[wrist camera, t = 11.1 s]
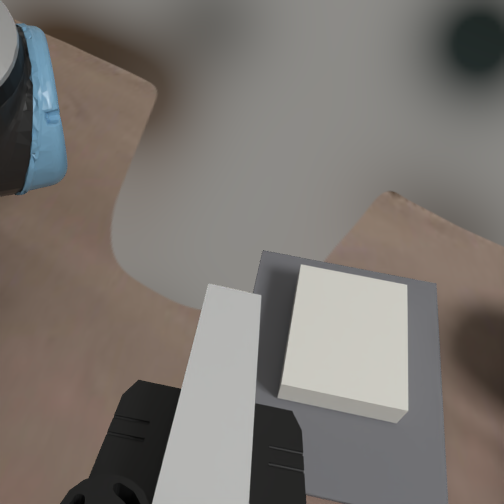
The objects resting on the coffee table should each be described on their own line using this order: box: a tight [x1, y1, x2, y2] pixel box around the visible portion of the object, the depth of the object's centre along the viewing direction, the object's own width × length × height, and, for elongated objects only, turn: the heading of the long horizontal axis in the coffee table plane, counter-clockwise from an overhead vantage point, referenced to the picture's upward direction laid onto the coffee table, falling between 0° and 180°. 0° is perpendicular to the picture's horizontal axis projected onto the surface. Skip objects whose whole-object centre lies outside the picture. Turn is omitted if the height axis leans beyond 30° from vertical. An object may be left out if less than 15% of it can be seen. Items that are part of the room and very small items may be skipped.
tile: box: [277, 264, 408, 423], centre depth 42 cm, size 3×10×12 cm
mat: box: [253, 250, 448, 504], centre depth 43 cm, size 22×18×1 cm
